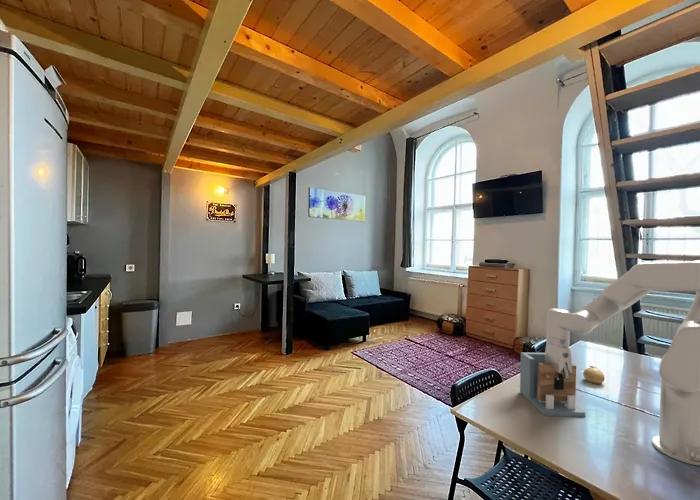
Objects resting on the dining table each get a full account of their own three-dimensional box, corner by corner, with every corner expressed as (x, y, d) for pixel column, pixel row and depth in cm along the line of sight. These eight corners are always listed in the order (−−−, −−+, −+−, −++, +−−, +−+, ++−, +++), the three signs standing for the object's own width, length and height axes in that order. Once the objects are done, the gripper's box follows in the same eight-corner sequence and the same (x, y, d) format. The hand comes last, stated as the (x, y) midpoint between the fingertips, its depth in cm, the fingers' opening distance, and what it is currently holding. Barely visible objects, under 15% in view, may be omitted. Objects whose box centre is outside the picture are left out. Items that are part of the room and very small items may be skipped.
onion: (608, 383, 143) (608, 368, 143) (598, 387, 139) (599, 371, 139) (588, 377, 150) (589, 362, 150) (579, 380, 147) (579, 365, 147)
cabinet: (585, 416, 116) (586, 370, 115) (544, 415, 117) (545, 369, 116) (555, 393, 134) (556, 352, 133) (520, 392, 135) (520, 352, 134)
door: (577, 403, 119) (578, 367, 118) (542, 402, 119) (543, 366, 119) (571, 398, 122) (572, 363, 122) (537, 397, 123) (538, 362, 122)
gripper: (582, 348, 112) (580, 398, 113) (554, 334, 128) (553, 378, 129) (560, 347, 113) (559, 397, 113) (536, 334, 129) (535, 378, 129)
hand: (556, 387), depth 121 cm, fingers closed on door, 2 cm apart
